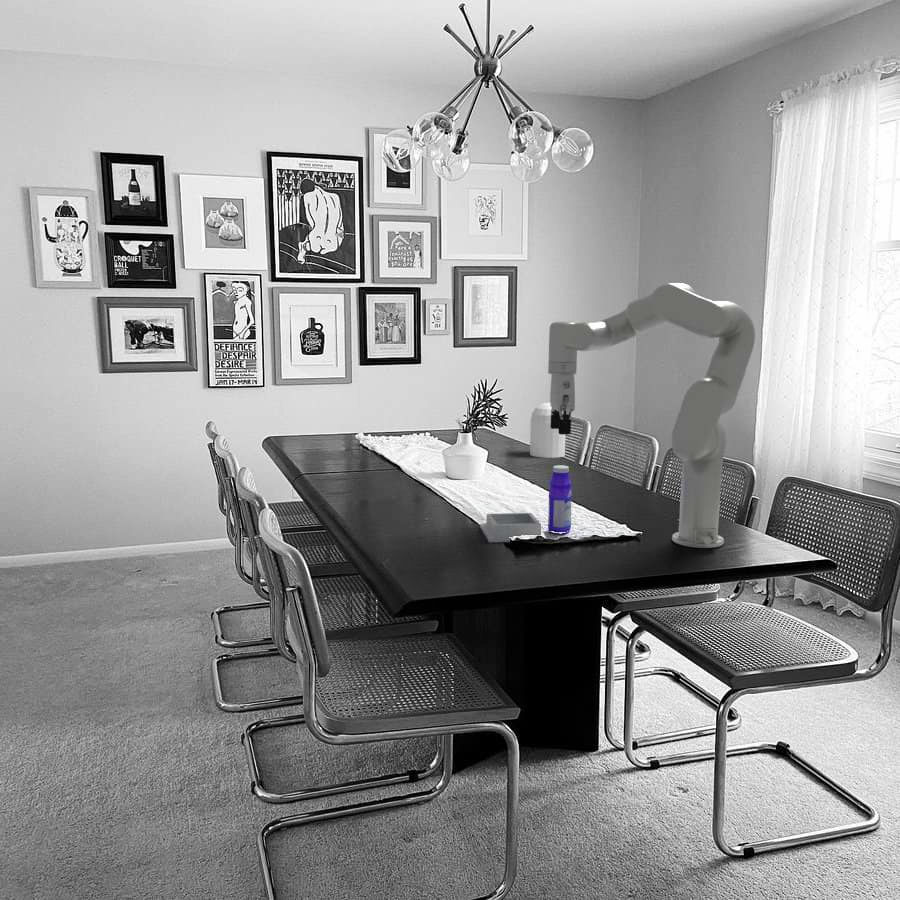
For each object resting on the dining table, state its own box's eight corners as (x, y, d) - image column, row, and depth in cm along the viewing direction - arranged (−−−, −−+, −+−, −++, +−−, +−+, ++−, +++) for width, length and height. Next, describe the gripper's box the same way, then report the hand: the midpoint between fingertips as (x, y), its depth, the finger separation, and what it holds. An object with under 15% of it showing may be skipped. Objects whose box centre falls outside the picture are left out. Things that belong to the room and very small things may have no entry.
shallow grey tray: (547, 540, 233) (548, 525, 232) (489, 542, 231) (489, 526, 230) (535, 525, 248) (535, 511, 247) (479, 527, 246) (480, 512, 245)
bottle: (566, 536, 237) (568, 469, 234) (544, 534, 240) (546, 468, 236) (573, 529, 244) (575, 464, 241) (552, 527, 246) (554, 463, 243)
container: (525, 451, 359) (526, 400, 356) (558, 451, 362) (560, 400, 358) (535, 458, 346) (536, 405, 343) (569, 457, 349) (571, 404, 345)
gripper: (584, 371, 240) (581, 436, 243) (568, 365, 257) (566, 426, 260) (555, 371, 239) (553, 436, 242) (541, 365, 256) (540, 426, 259)
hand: (560, 431), depth 251 cm, fingers open, 9 cm apart
